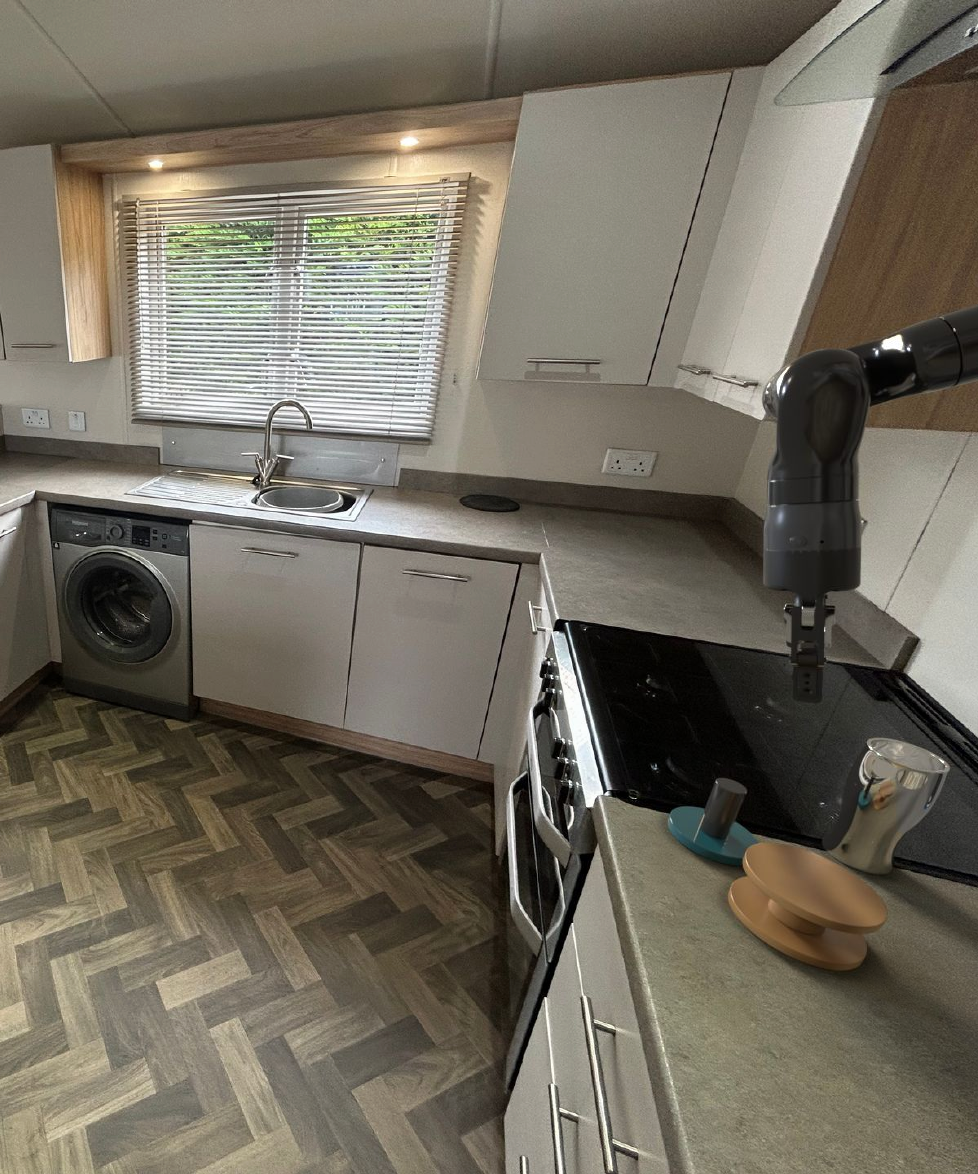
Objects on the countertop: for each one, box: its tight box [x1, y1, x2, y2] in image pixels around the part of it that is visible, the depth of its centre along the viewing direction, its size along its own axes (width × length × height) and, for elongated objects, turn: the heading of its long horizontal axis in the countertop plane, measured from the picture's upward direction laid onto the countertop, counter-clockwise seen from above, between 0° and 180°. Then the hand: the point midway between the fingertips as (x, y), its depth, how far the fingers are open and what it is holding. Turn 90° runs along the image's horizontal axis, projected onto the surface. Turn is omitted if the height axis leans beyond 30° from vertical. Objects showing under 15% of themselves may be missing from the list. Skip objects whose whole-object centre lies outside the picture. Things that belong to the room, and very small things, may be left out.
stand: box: [727, 842, 889, 972], centre depth 67 cm, size 11×11×6 cm
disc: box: [667, 777, 759, 866], centre depth 78 cm, size 9×9×8 cm
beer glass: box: [821, 737, 951, 876], centre depth 74 cm, size 7×7×15 cm
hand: (808, 691), depth 69 cm, fingers open, 8 cm apart
